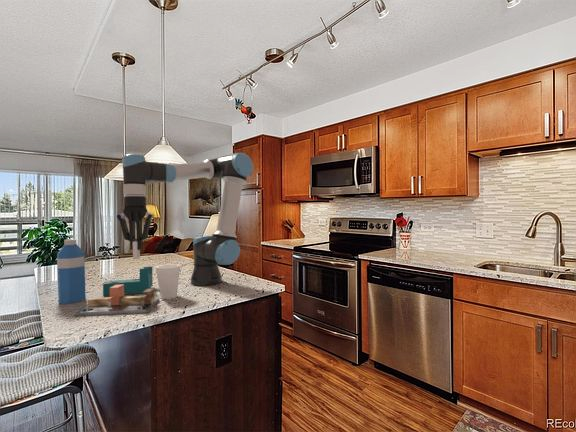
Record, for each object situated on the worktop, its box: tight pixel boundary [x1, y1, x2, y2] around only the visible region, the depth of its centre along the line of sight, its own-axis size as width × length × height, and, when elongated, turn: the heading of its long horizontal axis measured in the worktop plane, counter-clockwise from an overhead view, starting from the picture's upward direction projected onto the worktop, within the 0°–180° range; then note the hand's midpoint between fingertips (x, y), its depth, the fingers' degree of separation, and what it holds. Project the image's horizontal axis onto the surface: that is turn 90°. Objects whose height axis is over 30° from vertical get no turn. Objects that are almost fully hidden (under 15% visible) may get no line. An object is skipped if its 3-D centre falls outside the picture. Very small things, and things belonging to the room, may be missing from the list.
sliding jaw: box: [107, 284, 125, 308], centre depth 115 cm, size 3×9×6 cm, turn 5°
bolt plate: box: [74, 298, 160, 317], centre depth 116 cm, size 24×14×1 cm, turn 95°
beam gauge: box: [87, 287, 155, 307], centre depth 115 cm, size 23×9×5 cm, turn 95°
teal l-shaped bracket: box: [102, 266, 154, 297], centre depth 141 cm, size 18×11×10 cm, turn 105°
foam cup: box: [155, 263, 181, 300], centre depth 130 cm, size 10×9×13 cm
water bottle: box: [56, 238, 87, 305], centre depth 128 cm, size 9×9×25 cm
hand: (136, 258), depth 117 cm, fingers closed
